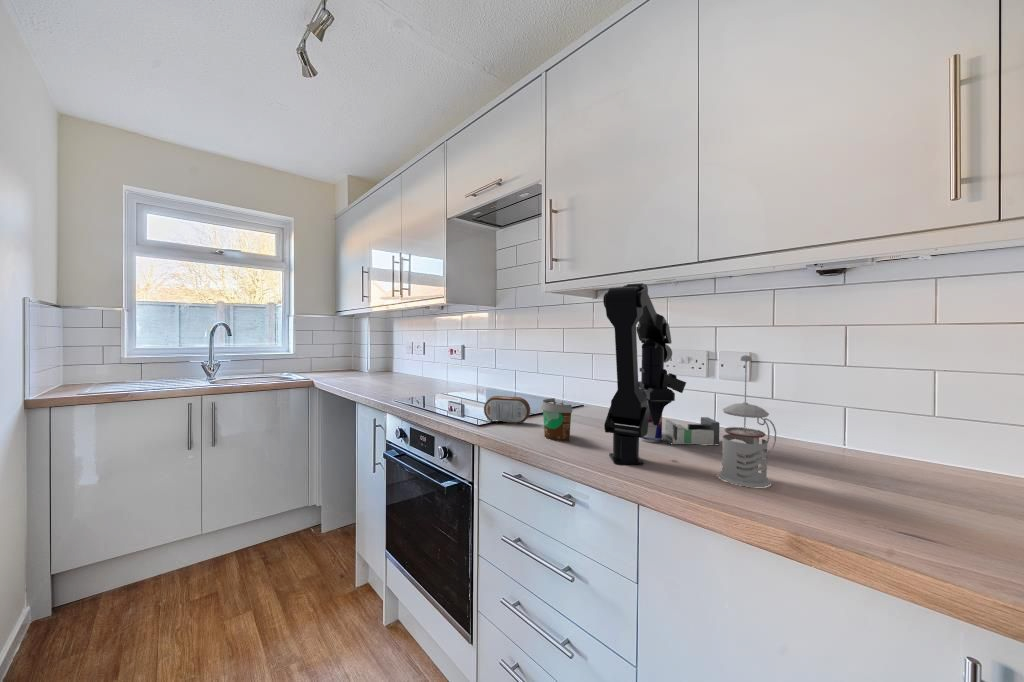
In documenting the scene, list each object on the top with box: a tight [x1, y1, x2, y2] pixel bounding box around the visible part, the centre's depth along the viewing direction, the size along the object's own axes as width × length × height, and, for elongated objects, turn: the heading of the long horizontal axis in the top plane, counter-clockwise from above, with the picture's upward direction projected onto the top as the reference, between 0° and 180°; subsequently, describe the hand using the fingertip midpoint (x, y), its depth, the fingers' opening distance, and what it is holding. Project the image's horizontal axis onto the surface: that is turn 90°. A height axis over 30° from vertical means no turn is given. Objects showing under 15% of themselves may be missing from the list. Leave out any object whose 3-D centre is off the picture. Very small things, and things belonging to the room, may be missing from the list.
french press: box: [716, 355, 777, 487], centre depth 81 cm, size 10×12×25 cm
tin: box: [483, 395, 531, 424], centre depth 131 cm, size 15×3×8 cm, turn 79°
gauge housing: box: [662, 416, 720, 445], centre depth 110 cm, size 7×13×6 cm, turn 87°
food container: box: [540, 397, 573, 442], centre depth 113 cm, size 12×6×10 cm, turn 17°
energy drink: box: [640, 406, 663, 443], centre depth 111 cm, size 5×5×12 cm
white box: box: [664, 419, 688, 440], centre depth 110 cm, size 8×4×4 cm, turn 177°
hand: (651, 422), depth 111 cm, fingers open, 8 cm apart
